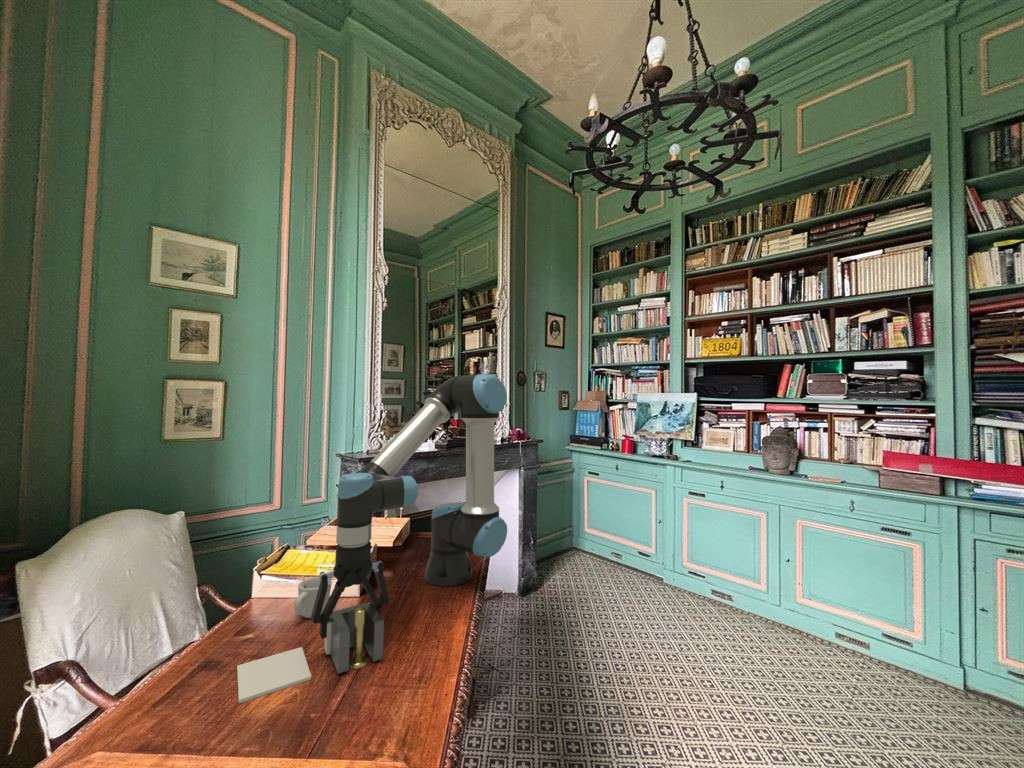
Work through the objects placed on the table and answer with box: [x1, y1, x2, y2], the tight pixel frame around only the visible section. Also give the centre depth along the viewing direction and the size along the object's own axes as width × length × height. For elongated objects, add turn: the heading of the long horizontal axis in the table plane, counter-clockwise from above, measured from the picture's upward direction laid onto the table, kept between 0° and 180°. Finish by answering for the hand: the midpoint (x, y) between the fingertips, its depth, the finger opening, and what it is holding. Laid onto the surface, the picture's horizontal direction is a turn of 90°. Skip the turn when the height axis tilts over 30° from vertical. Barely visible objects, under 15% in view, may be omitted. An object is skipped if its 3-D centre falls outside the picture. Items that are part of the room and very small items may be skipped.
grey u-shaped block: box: [329, 601, 385, 674], centre depth 89 cm, size 9×10×8 cm
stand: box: [349, 608, 368, 670], centre depth 87 cm, size 4×4×11 cm
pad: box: [236, 646, 312, 704], centre depth 83 cm, size 12×12×1 cm
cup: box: [293, 576, 333, 619], centre depth 106 cm, size 11×8×8 cm
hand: (350, 644), depth 92 cm, fingers closed on grey u-shaped block, 9 cm apart
